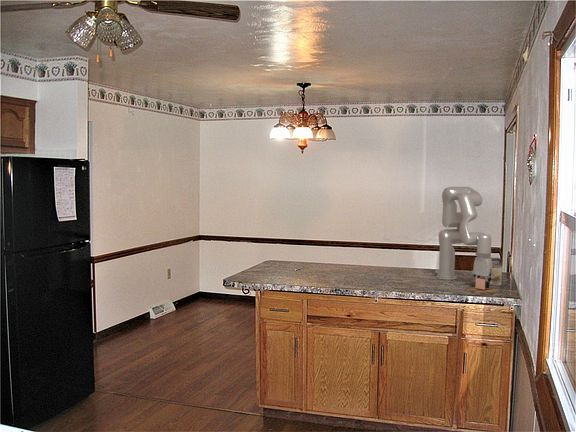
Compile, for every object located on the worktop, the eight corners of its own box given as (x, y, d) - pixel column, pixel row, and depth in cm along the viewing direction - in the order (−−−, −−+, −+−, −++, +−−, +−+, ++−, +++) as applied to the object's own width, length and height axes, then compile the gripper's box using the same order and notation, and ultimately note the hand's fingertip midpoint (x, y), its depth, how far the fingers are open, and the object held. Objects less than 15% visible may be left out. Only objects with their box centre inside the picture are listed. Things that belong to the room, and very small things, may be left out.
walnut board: (464, 290, 321) (464, 288, 320) (479, 287, 329) (479, 285, 328) (485, 295, 309) (485, 293, 309) (500, 292, 317) (500, 290, 317)
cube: (475, 287, 319) (475, 278, 319) (481, 286, 323) (481, 277, 322) (483, 289, 315) (484, 280, 314) (489, 288, 318) (489, 278, 318)
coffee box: (486, 285, 335) (487, 259, 334) (482, 283, 342) (483, 257, 340) (501, 285, 336) (502, 259, 334) (497, 283, 342) (498, 257, 341)
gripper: (467, 254, 322) (465, 285, 324) (492, 258, 308) (491, 290, 310) (475, 253, 326) (473, 283, 328) (500, 257, 312) (499, 289, 314)
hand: (482, 286), depth 319 cm, fingers closed on cube, 5 cm apart
